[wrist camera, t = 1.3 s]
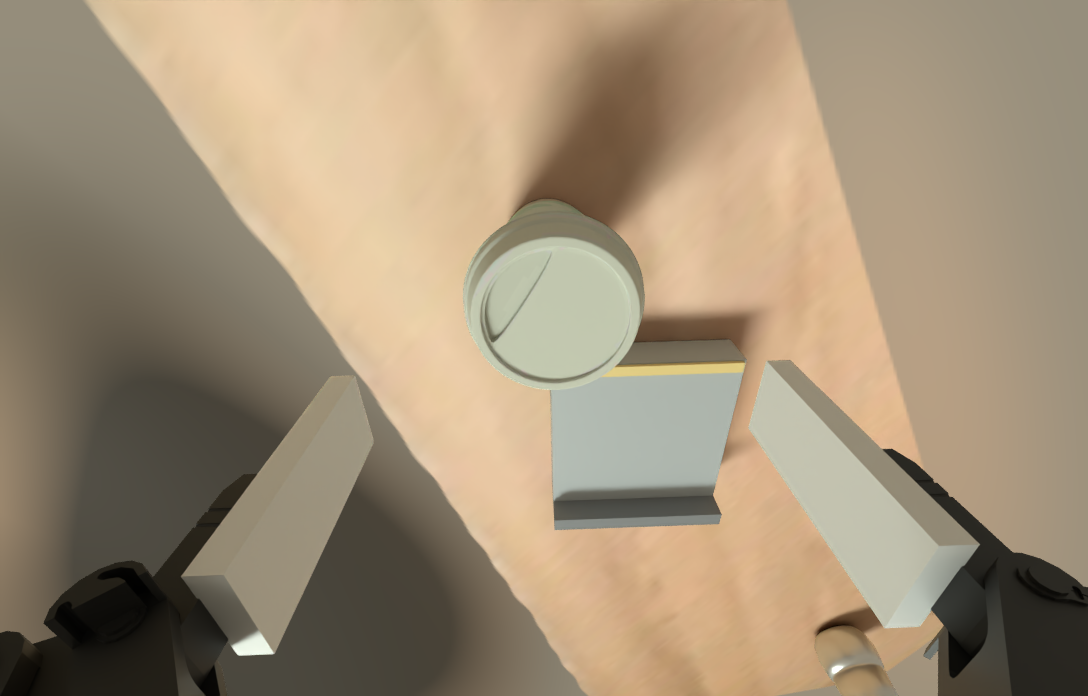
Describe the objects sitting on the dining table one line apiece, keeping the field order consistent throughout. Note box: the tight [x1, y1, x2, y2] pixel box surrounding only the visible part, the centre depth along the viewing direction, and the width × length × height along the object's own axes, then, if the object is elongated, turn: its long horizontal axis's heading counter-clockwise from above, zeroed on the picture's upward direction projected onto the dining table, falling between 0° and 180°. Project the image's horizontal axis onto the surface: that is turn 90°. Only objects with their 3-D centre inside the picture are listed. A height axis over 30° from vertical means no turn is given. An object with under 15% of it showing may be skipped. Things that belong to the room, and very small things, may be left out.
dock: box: [550, 339, 747, 530], centre depth 35 cm, size 15×14×5 cm
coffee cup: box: [463, 199, 645, 390], centre depth 24 cm, size 8×9×12 cm
